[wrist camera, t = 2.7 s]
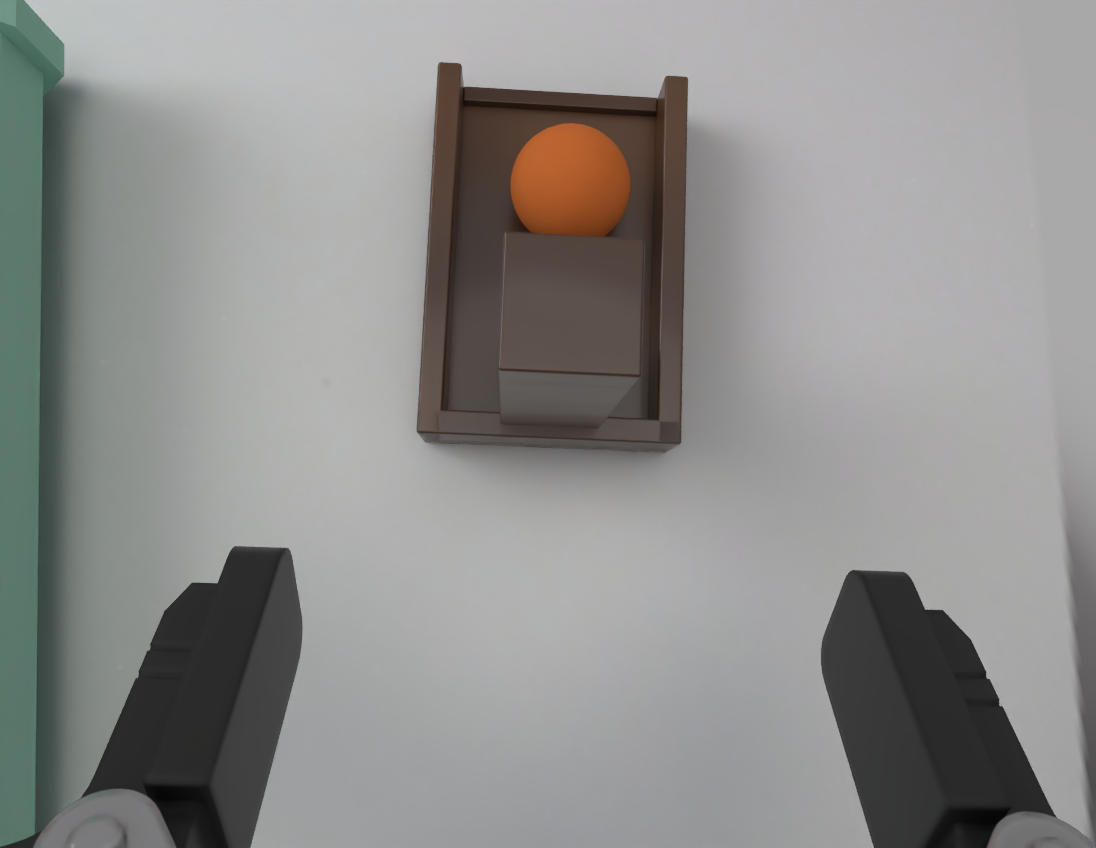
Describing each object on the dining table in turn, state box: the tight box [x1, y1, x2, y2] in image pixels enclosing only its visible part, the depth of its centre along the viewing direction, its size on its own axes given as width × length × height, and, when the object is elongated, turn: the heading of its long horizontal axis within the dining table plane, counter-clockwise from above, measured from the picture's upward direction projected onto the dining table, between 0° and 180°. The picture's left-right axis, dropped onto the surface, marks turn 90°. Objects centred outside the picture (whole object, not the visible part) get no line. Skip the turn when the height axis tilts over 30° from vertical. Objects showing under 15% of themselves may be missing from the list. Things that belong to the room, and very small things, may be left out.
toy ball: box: [510, 123, 630, 237], centre depth 22 cm, size 3×3×3 cm
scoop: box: [417, 62, 688, 452], centre depth 20 cm, size 10×6×9 cm
